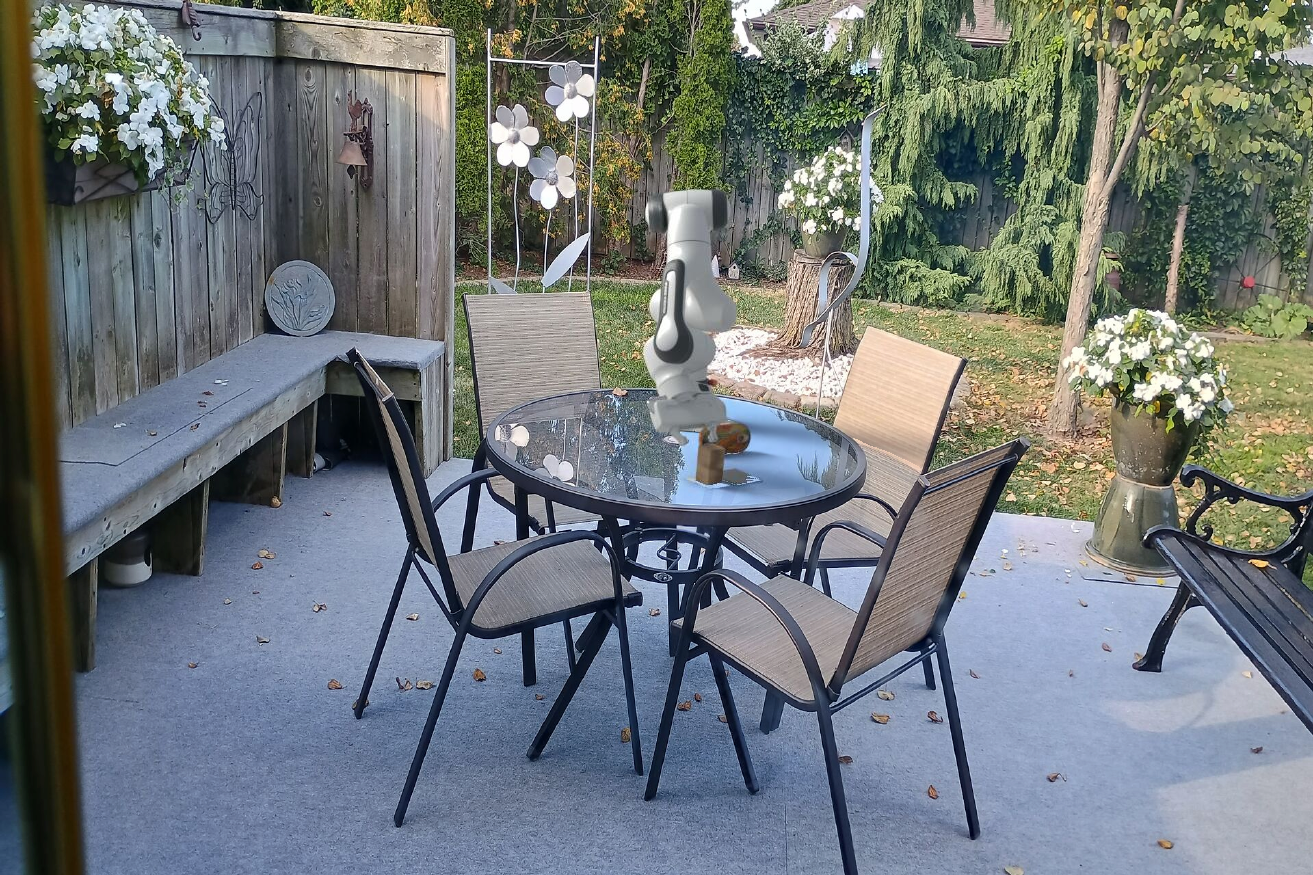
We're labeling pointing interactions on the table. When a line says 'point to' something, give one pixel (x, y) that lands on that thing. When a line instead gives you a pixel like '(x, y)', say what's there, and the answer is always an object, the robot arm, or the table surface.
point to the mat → (736, 476)
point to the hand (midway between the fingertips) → (699, 442)
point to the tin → (728, 437)
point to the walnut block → (710, 464)
